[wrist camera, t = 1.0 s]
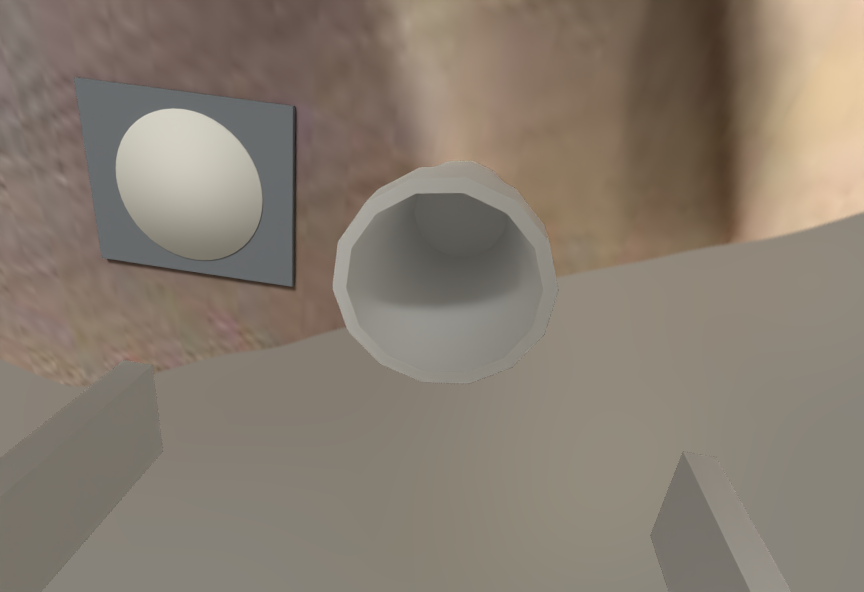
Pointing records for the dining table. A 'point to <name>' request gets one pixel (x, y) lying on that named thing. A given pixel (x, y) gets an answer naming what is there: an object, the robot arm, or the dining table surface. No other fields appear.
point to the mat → (191, 179)
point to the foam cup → (446, 274)
